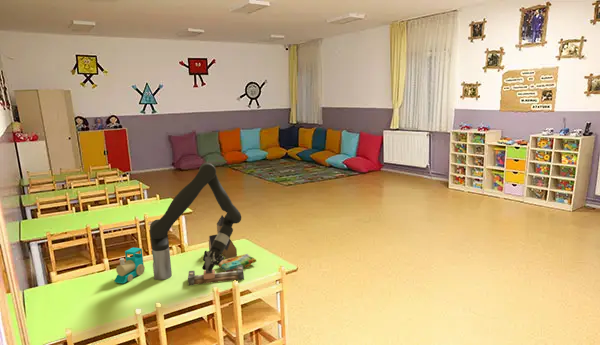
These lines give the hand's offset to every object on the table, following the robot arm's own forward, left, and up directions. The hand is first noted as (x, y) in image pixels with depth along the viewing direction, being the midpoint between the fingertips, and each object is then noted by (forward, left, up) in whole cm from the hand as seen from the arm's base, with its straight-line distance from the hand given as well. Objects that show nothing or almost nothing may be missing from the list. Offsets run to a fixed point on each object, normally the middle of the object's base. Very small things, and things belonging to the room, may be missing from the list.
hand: (206, 270), depth 225 cm
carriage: (+1, +1, -5) cm, 5 cm away
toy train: (-44, +16, -7) cm, 47 cm away
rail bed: (+5, +1, -7) cm, 8 cm away
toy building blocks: (+9, +35, -7) cm, 37 cm away
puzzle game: (+17, +16, -7) cm, 24 cm away
